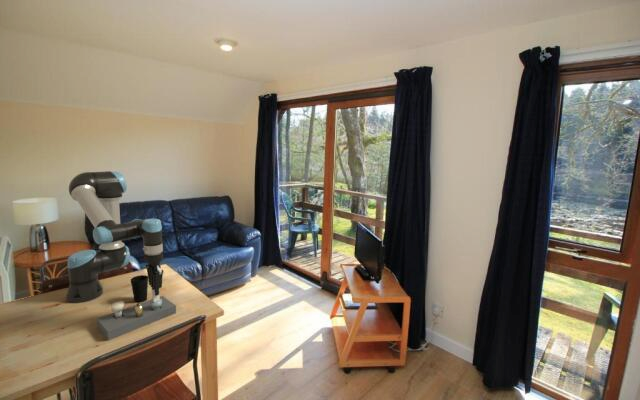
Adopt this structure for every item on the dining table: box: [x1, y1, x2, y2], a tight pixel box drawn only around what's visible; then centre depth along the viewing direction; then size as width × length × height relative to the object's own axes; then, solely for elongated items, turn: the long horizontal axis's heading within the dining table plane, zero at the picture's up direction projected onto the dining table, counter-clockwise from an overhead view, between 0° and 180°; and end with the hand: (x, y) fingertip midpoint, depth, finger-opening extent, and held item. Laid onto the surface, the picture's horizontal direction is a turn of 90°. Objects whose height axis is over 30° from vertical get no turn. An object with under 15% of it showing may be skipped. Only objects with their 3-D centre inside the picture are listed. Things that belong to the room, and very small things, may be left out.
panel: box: [96, 295, 177, 341], centre depth 138 cm, size 14×28×4 cm, turn 142°
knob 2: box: [150, 299, 162, 310], centre depth 141 cm, size 5×5×6 cm
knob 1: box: [110, 301, 125, 319], centre depth 133 cm, size 5×5×6 cm
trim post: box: [134, 302, 143, 318], centre depth 134 cm, size 3×3×6 cm
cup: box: [130, 274, 149, 304], centre depth 154 cm, size 8×8×12 cm
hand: (156, 300), depth 140 cm, fingers closed
